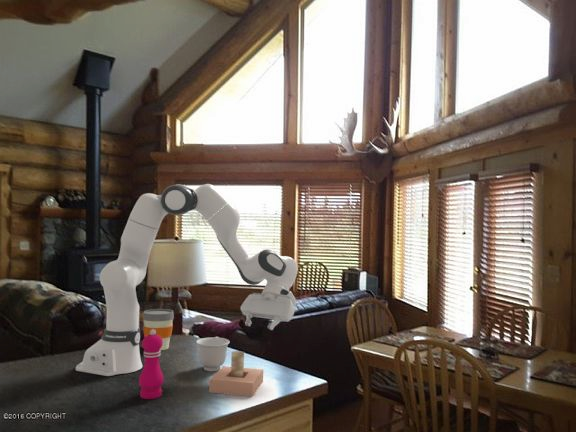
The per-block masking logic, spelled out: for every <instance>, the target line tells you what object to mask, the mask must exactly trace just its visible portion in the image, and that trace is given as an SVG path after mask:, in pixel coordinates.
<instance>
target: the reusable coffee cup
mask: <svg viewBox="0 0 576 432" xmlns="http://www.w3.org/2000/svg"><path fill="white" fill-rule="evenodd" d="M174 314H175V313H174V310H173V309H169V308H168V309H166V308H155V309H154V308H153V309H147V310H144V311H143V314H142V320H143V325H142V327H143V336H144V337H143V338H145V337H146V336H147V335H150V331H151V330H152V329H154V330H155V331H156V335H159V336H160V337H161V338H162V341H163V345H162V347H161V348H160V350H161V351H165V350H168V349H169V348H170V341H171V337H172V333H173V328H174V326H173V325H174V324H173V321H174V319H175V316H174Z"/></svg>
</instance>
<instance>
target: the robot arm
mask: <svg viewBox="0 0 576 432" xmlns="http://www.w3.org/2000/svg"><path fill="white" fill-rule="evenodd" d="M191 211H197V212H198V213H199V214H200V215H201V216H202V217H203V218H204V220H206V221H207V223H208V224H209V225H210V227H211V228H212V230H213V231H214V233H215V235H216V238H217V241H218V242H219V244H220V245H221V247H222V248H223V250H224V251H225V252H226V254H227V255H228V257H229V258H230V260H231V261H232V262H233V264H234V266H236V269H237V271H238V273H239V275H240V277H241V279H242V280H243V282H245V283H247V285H249V286H250V285H251V286H257V285H259V284H260V283H262V282H263V281H264V280H266V282H267V283H266V284H265V285H264V288H263V290H262V291H261V293H259V292H258V293H257V292H253V293H250V294H249V295H248V296H247V297H246V298H245V300H244V301H243V302H242V304H241V305H240V311H241V313H242V314H243V315H244V316H246V320H245V322H244V324H245V326H247V327H251V325H252V324H253V323H252V320H251V319H252V318H253V317H254V318H261V319H267V320H273V321H272V322H268V325H267V329H268V330H269V331H273V330H274V328H275V327H276V326H277V325H278V324H280V322H286V323H287V322H290V321H291V320H292V319H293V317H294V315H295V311H296V306H297V304H298V303H297V298H296V297H295V296H294V294H293V292H292V291H290V289H291V287H293V285H294V283H295V280H296V278H297V275H298V271H299V267H298V263H297V261H296V260H295V259H294V258H292V257H290V256H287V255H285V256H284V255H280V254H278V253H276V252H275V251H274V250H271V249H262V250H261V251H260V252H258V253H256V254H255V255H253V256H251V255H249V254H248V252H247V251H246V250H245V249H244V247H243V245H242V244H241V243H240V241H239V240H238V237H237V230H238V229H239V224H240V221H241V220H240V213H239V211H238V210H237V208H236V206H235V205H234V204H233V203H232V202H231V201H230V199H229V198H228V197H227V196H226V195H225V194H224V193H223V192H222V191H220V190H219V188H217V187H216V186H214V185H213V184H212V183H211V184H210V183H206V184H205V183H204V184H202V185H200V186H199V187H197V188H196V189H193V188H189V187H188V186H186V185H184V184H180V183H176V184H171V185H169V186H166V188H165V189H164V190H163V191H162V192H161V194H158V195H157V194H155V193H150V192H148V193H143V194H142V195H140V196H139V198H138V199H137V200H136V202H135V204H134V205H133V208H132V211H131V212H130V214H129V217H128V219H127V223H126V225H125V227H124V229H123V233H122V235H121V237H120V250H119V254H118V258H117V259H116V260H113V261H110V262H108V263H107V264H106V265H105V266H104V267H103V268H102V270H101V271H100V274H99V283H100V285H101V286H102V287H103V292H104V298H105V305H106V320H105V321H106V322H105V323H106V324H105V325H106V326H105V327H106V328H104V329H102V330H100V331H98V332H99V333H98V336H101V338H100V339H99V340H98V341H96V342H95V343H94V344H93V345H91V346H90V347H88V348H87V349H86V351H85V352H84V353H83V359H82V362H79V364H77V365H76V366H75V371H77V372H82V373H87V374H93V375H99V376H104V377H111V376H115V375H116V376H117V375H121V374H124V375H125V374H130V373H133V372H137V371H139V370H141V369H142V368H143V363H142V360H141V353H140V340H141V328H140V304H139V302H138V301H139V300H138V297H137V291H136V287H137V286H138V285H140V284H141V283H142V282H143V280H144V279H145V278H146V274H147V269H148V264H149V260H150V256H151V255H150V254H151V250H152V248H153V245H154V243H155V239H156V237H157V235H158V232H159V230H160V227H161V224H162V222H163V220H164V218H165V216H167V215H168V214H169V215H172V216H182V215H185V214H188V213H189V212H191Z"/></svg>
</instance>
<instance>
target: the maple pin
mask: <svg viewBox="0 0 576 432" xmlns="http://www.w3.org/2000/svg"><path fill="white" fill-rule="evenodd" d="M230 359H231V360H230V361H231V362H230V363H231V364H230V365H231V366H230V367H231V377H239V378H243V372H244V368H245V366H244V364H245V363H244V362H245V351H243V350H242V351H241V350H233V351H232V352H231V357H230Z"/></svg>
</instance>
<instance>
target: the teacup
mask: <svg viewBox="0 0 576 432" xmlns="http://www.w3.org/2000/svg"><path fill="white" fill-rule="evenodd" d="M195 343H196V344H197V348H198V356H199V357H198V358H199V363H200V364H201V365H202V366H203V370H204V371H206V372H218V371H219V370H220V369H221V366H222V365H224V363H225V361H226V358H227V351H228V346H229V344H230V340H229V339H227V338H224V337H219V336H215V337H203V338H199V339H197V340H196V341H195Z"/></svg>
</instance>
